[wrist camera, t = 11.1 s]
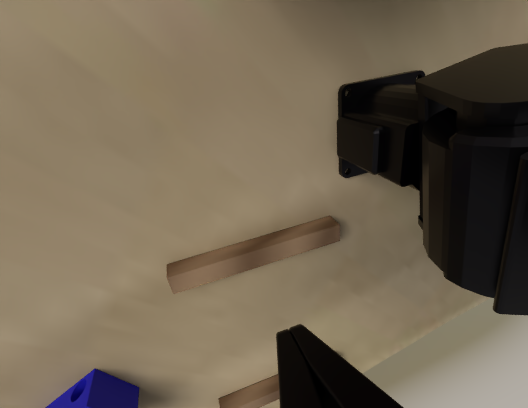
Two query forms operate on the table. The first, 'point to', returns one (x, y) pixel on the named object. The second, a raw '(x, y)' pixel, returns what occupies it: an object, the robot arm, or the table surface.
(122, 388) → the cable clip
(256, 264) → the brown wooden bars
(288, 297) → the table surface
